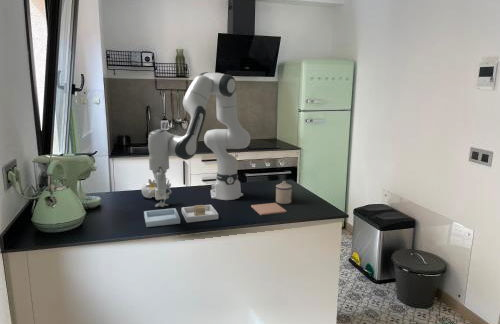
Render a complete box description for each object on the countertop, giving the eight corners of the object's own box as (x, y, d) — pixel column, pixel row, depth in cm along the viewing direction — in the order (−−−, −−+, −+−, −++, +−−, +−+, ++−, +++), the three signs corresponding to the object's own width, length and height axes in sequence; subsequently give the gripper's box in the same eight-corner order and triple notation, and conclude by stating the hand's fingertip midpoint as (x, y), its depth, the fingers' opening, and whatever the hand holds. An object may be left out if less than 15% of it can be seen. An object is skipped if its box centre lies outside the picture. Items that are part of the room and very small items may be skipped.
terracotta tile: (251, 206, 195) (251, 205, 195) (275, 204, 200) (275, 202, 199) (260, 215, 182) (260, 213, 182) (286, 212, 187) (286, 210, 187)
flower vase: (143, 210, 209) (157, 211, 188) (133, 179, 208) (145, 176, 186) (164, 202, 216) (180, 202, 195) (154, 172, 214) (169, 169, 193)
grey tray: (181, 213, 184) (181, 207, 183) (211, 210, 189) (210, 204, 188) (186, 223, 170) (186, 217, 170) (218, 220, 175) (218, 214, 174)
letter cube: (155, 196, 173) (154, 187, 172) (165, 195, 175) (164, 186, 174) (156, 199, 169) (155, 190, 168) (166, 198, 171) (165, 189, 170)
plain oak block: (194, 214, 181) (193, 205, 180) (203, 213, 182) (202, 204, 181) (195, 217, 177) (195, 208, 176) (205, 216, 178) (205, 207, 177)
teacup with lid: (294, 203, 201) (294, 182, 198) (278, 204, 198) (279, 184, 196) (286, 197, 212) (286, 177, 210) (271, 198, 210) (271, 178, 207)
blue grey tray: (144, 217, 178) (144, 211, 177) (175, 213, 183) (175, 208, 182) (146, 228, 164) (146, 222, 164) (180, 224, 169) (180, 218, 169)
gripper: (169, 169, 160) (170, 200, 163) (163, 160, 179) (165, 187, 182) (154, 170, 158) (155, 201, 161) (150, 161, 177) (152, 188, 180)
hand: (160, 194), depth 172 cm, fingers closed on letter cube, 4 cm apart
